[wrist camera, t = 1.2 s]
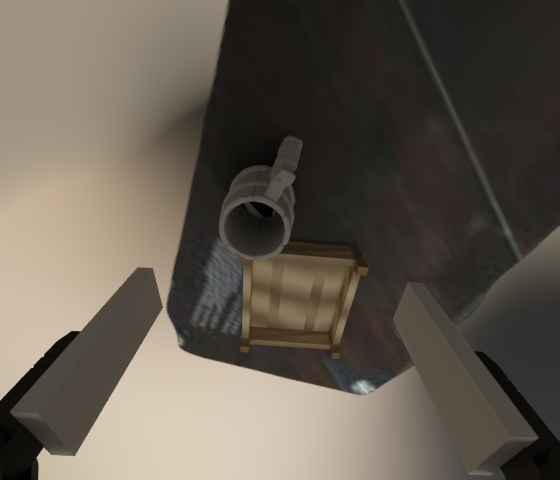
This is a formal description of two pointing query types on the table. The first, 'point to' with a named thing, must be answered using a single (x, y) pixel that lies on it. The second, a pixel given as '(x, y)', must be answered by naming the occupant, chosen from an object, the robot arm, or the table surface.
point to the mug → (265, 189)
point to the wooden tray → (300, 295)
